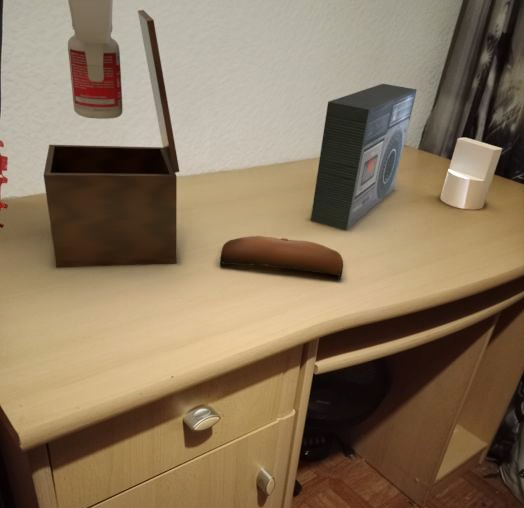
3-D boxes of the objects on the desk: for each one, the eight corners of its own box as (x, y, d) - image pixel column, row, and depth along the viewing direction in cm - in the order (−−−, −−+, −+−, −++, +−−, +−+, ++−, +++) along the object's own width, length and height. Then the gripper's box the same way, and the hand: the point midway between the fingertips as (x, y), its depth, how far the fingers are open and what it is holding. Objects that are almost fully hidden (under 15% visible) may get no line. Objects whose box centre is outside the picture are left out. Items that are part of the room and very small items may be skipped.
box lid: (146, 20, 61) (153, 19, 61) (137, 10, 72) (143, 9, 72) (173, 173, 72) (179, 172, 72) (162, 144, 82) (167, 143, 82)
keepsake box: (56, 267, 75) (43, 174, 68) (59, 228, 86) (49, 144, 78) (176, 263, 79) (176, 176, 72) (165, 226, 90) (165, 147, 83)
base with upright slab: (431, 197, 115) (447, 139, 109) (456, 192, 120) (473, 136, 114) (467, 212, 110) (486, 151, 103) (491, 205, 115) (511, 147, 108)
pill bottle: (128, 119, 71) (124, 21, 64) (81, 120, 68) (71, 18, 62) (115, 108, 75) (109, 15, 69) (69, 109, 72) (59, 12, 66)
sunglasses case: (339, 254, 86) (346, 228, 80) (337, 292, 83) (344, 268, 77) (226, 241, 86) (225, 215, 80) (220, 279, 83) (218, 254, 77)
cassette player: (346, 230, 96) (369, 109, 84) (310, 220, 98) (328, 101, 87) (393, 189, 118) (416, 89, 106) (363, 182, 120) (382, 83, 109)
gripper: (59, -63, 68) (71, 60, 76) (51, -67, 52) (67, 89, 60) (111, -56, 70) (117, 63, 78) (119, -59, 54) (126, 92, 62)
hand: (95, 75), depth 69 cm, fingers closed on pill bottle, 6 cm apart
